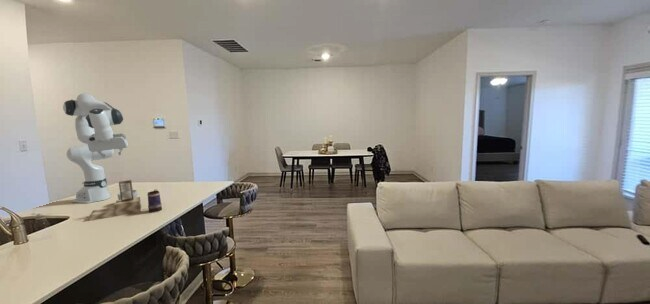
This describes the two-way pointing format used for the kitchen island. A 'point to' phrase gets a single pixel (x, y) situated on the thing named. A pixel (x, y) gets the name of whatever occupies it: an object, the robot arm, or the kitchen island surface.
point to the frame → (126, 190)
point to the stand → (118, 209)
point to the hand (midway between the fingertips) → (112, 155)
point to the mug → (154, 201)
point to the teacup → (133, 194)
